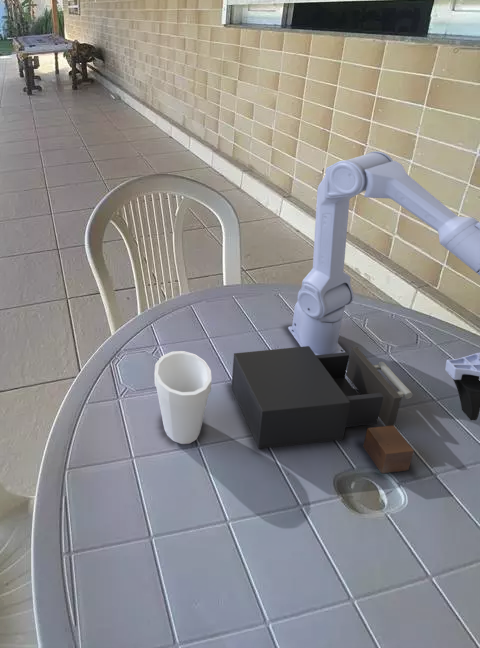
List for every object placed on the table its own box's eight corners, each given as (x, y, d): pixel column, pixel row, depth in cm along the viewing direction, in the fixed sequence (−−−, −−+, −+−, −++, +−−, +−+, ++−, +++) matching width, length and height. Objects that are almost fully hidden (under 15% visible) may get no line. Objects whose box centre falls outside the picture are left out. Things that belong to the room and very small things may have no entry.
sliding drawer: (372, 372, 83) (378, 345, 80) (417, 424, 72) (426, 395, 70) (284, 381, 82) (288, 354, 80) (316, 435, 72) (322, 406, 69)
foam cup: (213, 414, 77) (216, 360, 73) (203, 461, 70) (205, 402, 65) (163, 398, 81) (163, 345, 77) (148, 440, 74) (146, 384, 69)
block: (362, 446, 70) (367, 427, 69) (388, 443, 70) (393, 425, 69) (381, 473, 66) (386, 454, 64) (408, 470, 66) (414, 451, 65)
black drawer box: (303, 379, 83) (309, 345, 80) (342, 439, 71) (350, 402, 68) (231, 387, 83) (233, 353, 80) (258, 448, 71) (262, 411, 68)
